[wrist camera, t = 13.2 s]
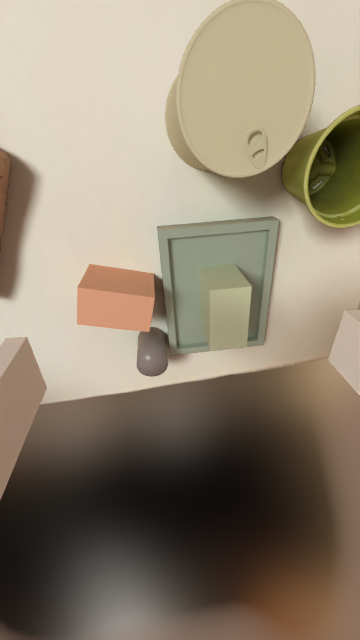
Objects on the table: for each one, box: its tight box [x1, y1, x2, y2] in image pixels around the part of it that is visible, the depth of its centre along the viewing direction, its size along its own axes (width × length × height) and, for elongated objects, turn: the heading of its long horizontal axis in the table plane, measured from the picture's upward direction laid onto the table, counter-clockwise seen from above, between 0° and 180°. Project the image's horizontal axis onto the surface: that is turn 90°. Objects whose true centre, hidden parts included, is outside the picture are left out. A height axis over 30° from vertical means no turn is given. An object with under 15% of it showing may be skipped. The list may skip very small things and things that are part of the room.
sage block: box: [199, 263, 252, 351], centre depth 34 cm, size 4×8×7 cm, turn 4°
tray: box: [157, 216, 279, 355], centre depth 36 cm, size 14×18×2 cm
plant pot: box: [282, 105, 360, 228], centre depth 27 cm, size 9×9×9 cm
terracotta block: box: [77, 264, 155, 332], centre depth 33 cm, size 4×8×7 cm, turn 79°
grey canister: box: [137, 327, 168, 376], centre depth 38 cm, size 4×4×6 cm
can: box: [165, 0, 315, 178], centre depth 22 cm, size 9×9×12 cm
